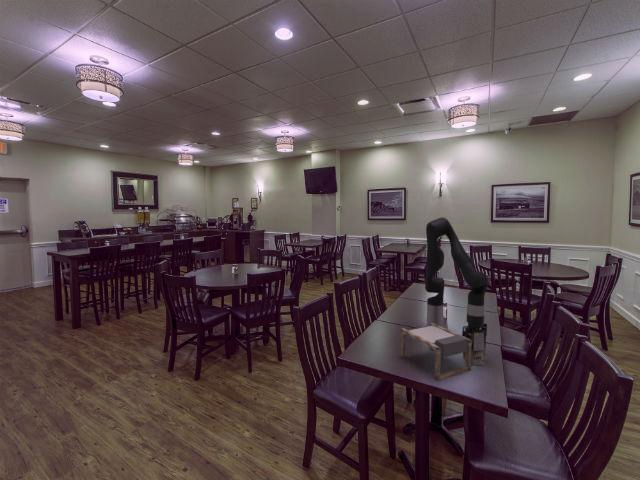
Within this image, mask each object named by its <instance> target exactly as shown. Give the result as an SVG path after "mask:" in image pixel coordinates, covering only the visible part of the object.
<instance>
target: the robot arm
mask: <svg viewBox="0 0 640 480" xmlns="http://www.w3.org/2000/svg"><path fill="white" fill-rule="evenodd" d="M425 233H426V270H425V271H426V273H425V280H424V281H425V282H424V288H425V291H426V293H429V294H430V293H431V294H436V295H434V296H431V297H428V298H427V300H426V327H428V326H430V323H434V324H436V325H439V326H441V327H443V328H445V316H444V294H445V279H444V278H443V277H434V276H435V275H436V274H437V273H438V272H439V271H440V270H441V269H442V268H443V266H444V263H445V253H444V251H443V249H442V248H441V247H440V246H439V244H438V239H439V238H441V237H444V236H446V238H447V239H448V241H449V245H450V255H451V258H452V260H453V263H455V264H456V266H457V268H458V269H459V271H460V272H461V275H462V278H463V280H464V281H465V283H466V284H467V285H468V286H469V287H470V289H471V290H470V291H469V292H468V294H467V307H466V322H467V325H466V326H467V327H464V326H465V325H464V326H462V331H461V332H462V333H461V336H463V337H466V338H468V336H470V337H469V338H468V339H470V340H471V336H472V335H471V334H469V330H470V331H477V330H483V331H485V332H486V336H487V335H488V324H487V323H485V295H486V292H487V288H488V277H487V274H486V273H485V272H483V271H476V269H475V268H474V266H475V262H474V261H473V259H472V258H471V257H470V255H469V254H468V253H467V251H466V250H465V248H464V246H463V245H462V243H461V241H460V240H459V237H458V235H457V233H456V231H455V229H454V228H453V226H452V224H451V223H450V221H449V220H448V219H447V218H445V217H439V218H436V219H434V220H431V221H429V222H428V223H427V224H426V227H425ZM465 335H466V336H465Z"/></svg>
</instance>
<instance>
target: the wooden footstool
mask: <svg viewBox="0 0 640 480" xmlns="http://www.w3.org/2000/svg"><path fill="white" fill-rule="evenodd" d="M430 326H435V327H437V328H439V329H442V330H444V331H446V332H448V333H450V334H453V335H455V336H456V335H460V336H462V334H459V333H456V332H454V331H451V330H449V329H448V328H445V327H444V328H443V327H441V326H439V325H436V324H434V323H430ZM400 331H401V332H400V333H401V334H400V337H401V338H400V357H401V358H405V357H406V335H407V336H408V337H410V338H412V339H414V340H416V341H417V342H420V343H422V344H424V345H425V346H426V347H428V349H429V350H430V351H434V354H435V355H434V356H435V357H434V380H437V381H440V380H443V379H446V378H449V377H453V376H456V375H459V374H463V373H466V372H469V371H471V369H472V368H471V367H472V364H471V345H472V340H470V339H468V338H467V352H466V359H465V366H463V367H459V368H454V369H452V370H448V371H445V372H442V373H441V348H440V347H438V346H436V345H435V344H433V343H431V342H429V341H427V340H425V339H423V338H421V337H419V336H417V335H416V334H414V333H412V332H410V331H409V330H408V329H406V328H404V327H403V328H401V329H400ZM462 337H463V336H462ZM464 338H466V337H464Z"/></svg>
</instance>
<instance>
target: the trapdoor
mask: <svg viewBox="0 0 640 480" xmlns="http://www.w3.org/2000/svg"><path fill="white" fill-rule="evenodd" d="M408 331H410V332H412V333H414V334H416V335H417V336H419V337H421V338H423V339H425V340H427V341H429V342H431V343H433V344H435V345H436V346H438V347H440V348H441V357H442V358H443V359H444V358H448V357H452V356H457V355H460V354H463V353H464V352H467V338H464V337H462V335H461V334H459V335H456V336H455V335H453V334H450V333H448V332H446V331H444V330H442V329H439V328H437V327H435V326H428V327H427V326H425V327H419V328H415V329H409V330H408ZM460 335H461V336H460Z"/></svg>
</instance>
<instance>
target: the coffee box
mask: <svg viewBox="0 0 640 480" xmlns="http://www.w3.org/2000/svg"><path fill="white" fill-rule="evenodd" d="M467 326H468V325H464V327H467ZM469 334H471V335H472V336H471V340H472V345H471V366H485V365H486V348H487V347H486V344H487V335H486V332H485V331H484V330H477V331H470V330H469ZM465 336H466V335H465ZM469 337H470V336H468V338H469ZM462 354H463V355H462V356H463V358H464V359H465V360H466V352H464V353H462Z"/></svg>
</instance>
